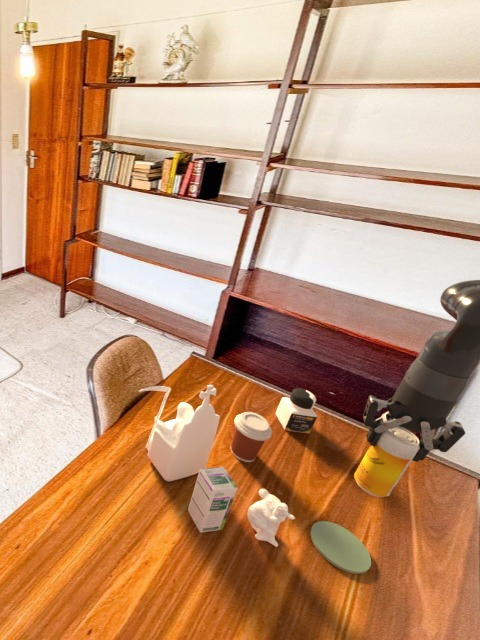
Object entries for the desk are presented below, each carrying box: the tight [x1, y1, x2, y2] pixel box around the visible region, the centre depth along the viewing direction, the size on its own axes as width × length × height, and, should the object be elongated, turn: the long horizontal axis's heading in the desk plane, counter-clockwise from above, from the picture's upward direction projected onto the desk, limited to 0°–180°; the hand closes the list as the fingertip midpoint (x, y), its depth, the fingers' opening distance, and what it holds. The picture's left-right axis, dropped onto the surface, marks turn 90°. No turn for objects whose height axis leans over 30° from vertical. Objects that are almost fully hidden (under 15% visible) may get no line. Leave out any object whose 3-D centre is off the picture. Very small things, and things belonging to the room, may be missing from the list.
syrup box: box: [187, 465, 238, 534], centre depth 90 cm, size 6×6×14 cm
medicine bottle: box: [275, 387, 318, 434], centre depth 119 cm, size 7×7×12 cm
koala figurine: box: [246, 488, 296, 548], centre depth 88 cm, size 8×7×12 cm
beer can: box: [353, 426, 420, 498], centre depth 81 cm, size 6×6×15 cm
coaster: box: [309, 520, 372, 575], centre depth 88 cm, size 11×11×1 cm
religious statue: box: [138, 384, 221, 482], centre depth 102 cm, size 17×14×30 cm
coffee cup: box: [229, 411, 273, 463], centre depth 109 cm, size 9×9×12 cm
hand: (392, 450), depth 79 cm, fingers closed on beer can, 6 cm apart
